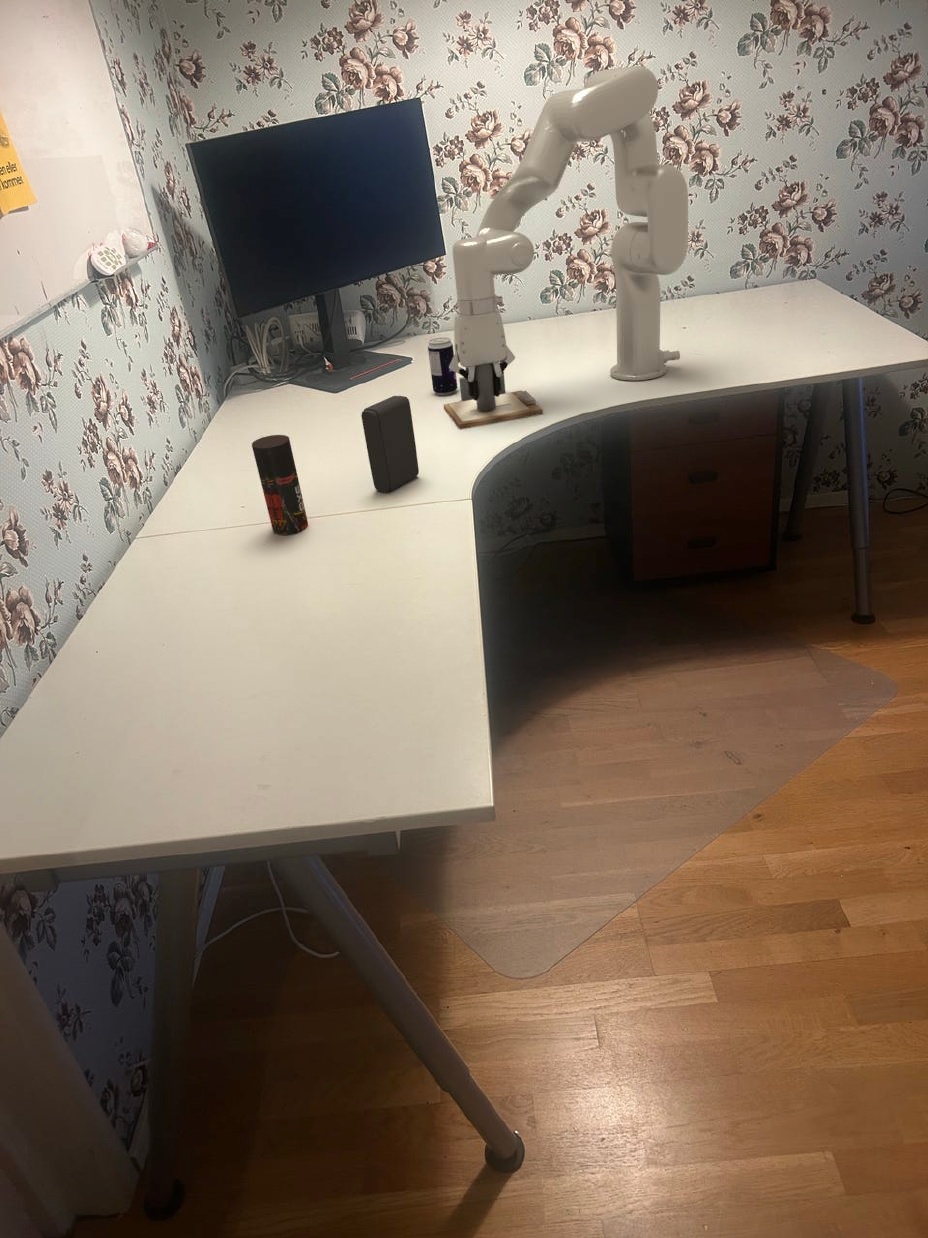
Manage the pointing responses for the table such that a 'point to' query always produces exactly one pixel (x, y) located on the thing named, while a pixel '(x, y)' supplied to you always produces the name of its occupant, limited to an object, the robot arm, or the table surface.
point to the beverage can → (442, 366)
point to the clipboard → (505, 410)
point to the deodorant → (280, 484)
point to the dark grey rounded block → (390, 443)
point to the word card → (465, 391)
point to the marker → (485, 387)
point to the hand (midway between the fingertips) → (485, 395)
